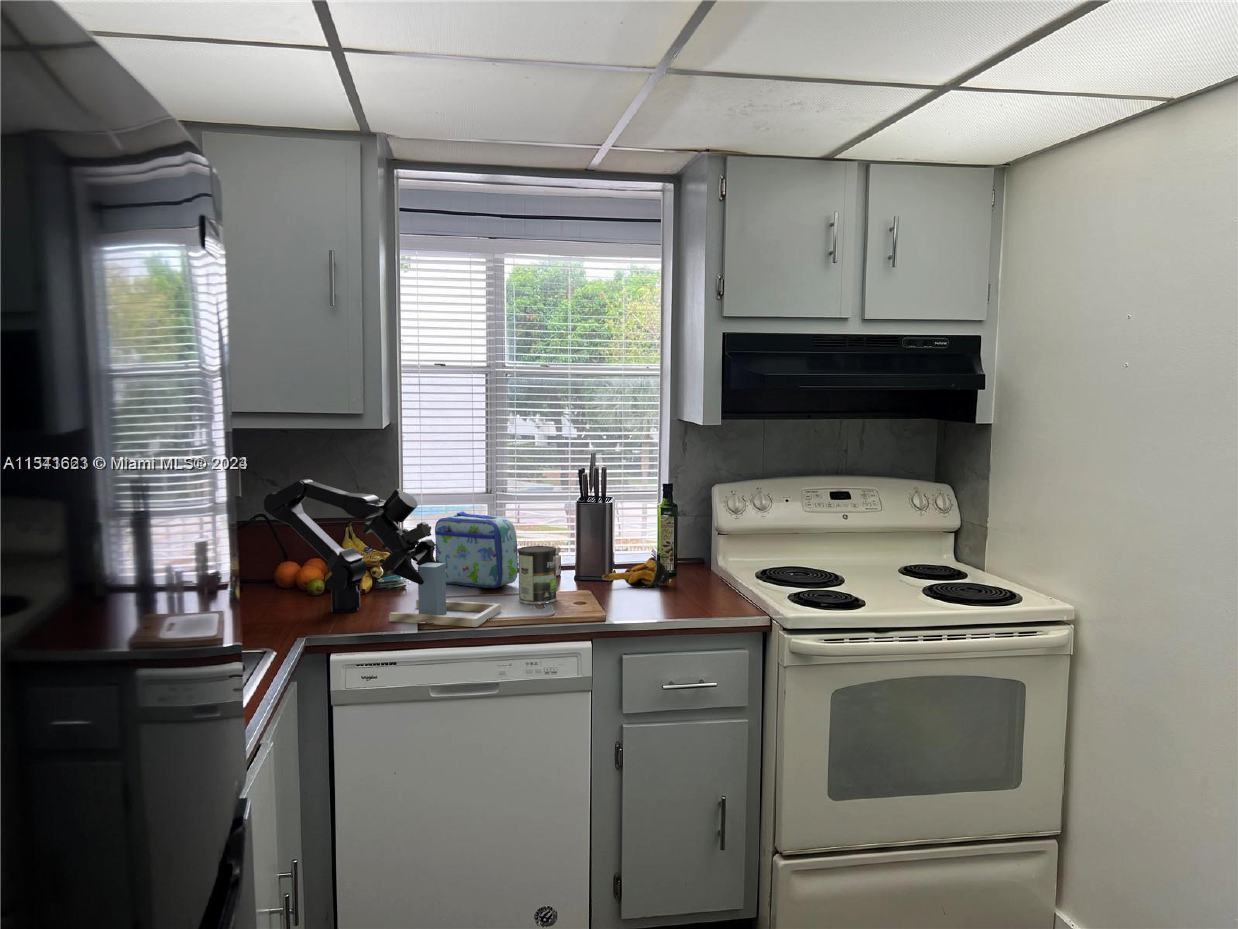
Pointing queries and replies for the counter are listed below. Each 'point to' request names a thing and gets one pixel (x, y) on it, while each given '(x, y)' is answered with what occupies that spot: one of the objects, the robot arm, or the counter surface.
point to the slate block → (432, 589)
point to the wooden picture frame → (485, 608)
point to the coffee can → (537, 574)
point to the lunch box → (477, 550)
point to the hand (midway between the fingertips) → (431, 579)
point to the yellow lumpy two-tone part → (642, 574)
